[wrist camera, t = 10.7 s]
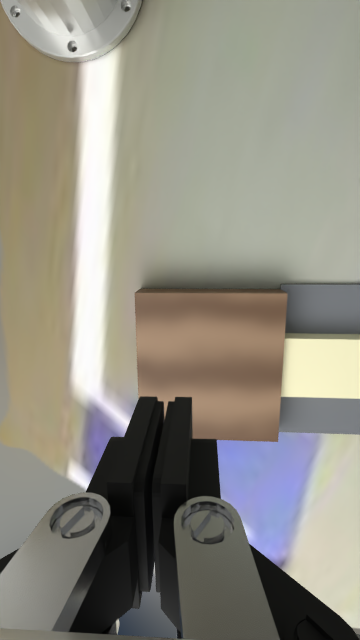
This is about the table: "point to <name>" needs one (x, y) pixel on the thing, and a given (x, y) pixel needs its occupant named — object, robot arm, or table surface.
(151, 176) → the table surface
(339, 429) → the mat
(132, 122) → the table surface
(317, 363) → the notepad
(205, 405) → the block
